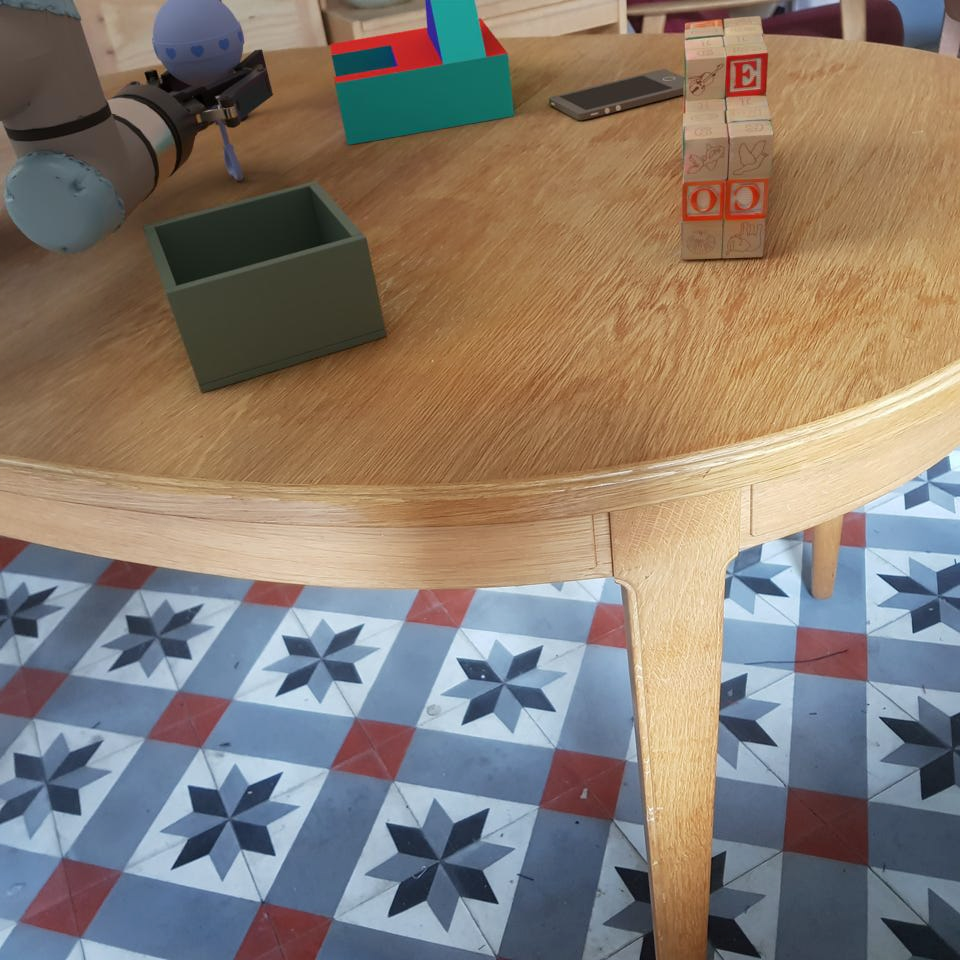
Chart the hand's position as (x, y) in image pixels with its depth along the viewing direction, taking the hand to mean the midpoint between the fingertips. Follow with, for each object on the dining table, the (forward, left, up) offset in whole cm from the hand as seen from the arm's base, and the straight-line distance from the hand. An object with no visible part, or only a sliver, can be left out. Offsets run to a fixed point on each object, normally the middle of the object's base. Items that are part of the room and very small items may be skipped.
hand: (226, 67), depth 98 cm
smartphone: (+10, +41, -10) cm, 43 cm away
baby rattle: (+4, -2, -10) cm, 11 cm away
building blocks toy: (-8, +23, -10) cm, 26 cm away
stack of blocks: (+42, +32, -10) cm, 54 cm away
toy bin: (+40, -6, -10) cm, 42 cm away
